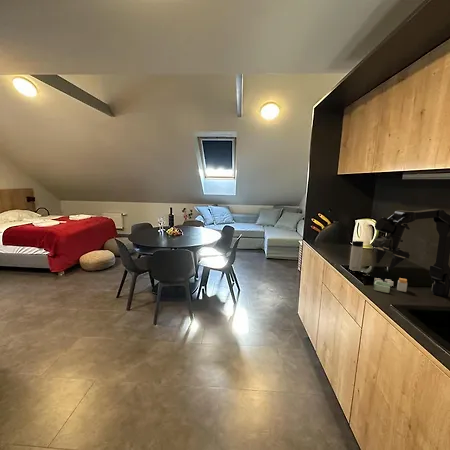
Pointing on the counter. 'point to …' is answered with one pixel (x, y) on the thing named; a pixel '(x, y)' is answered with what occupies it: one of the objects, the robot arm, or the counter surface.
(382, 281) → the clip
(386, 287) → the end holder
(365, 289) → the counter surface
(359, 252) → the travel mug
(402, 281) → the connector block
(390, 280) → the clip
